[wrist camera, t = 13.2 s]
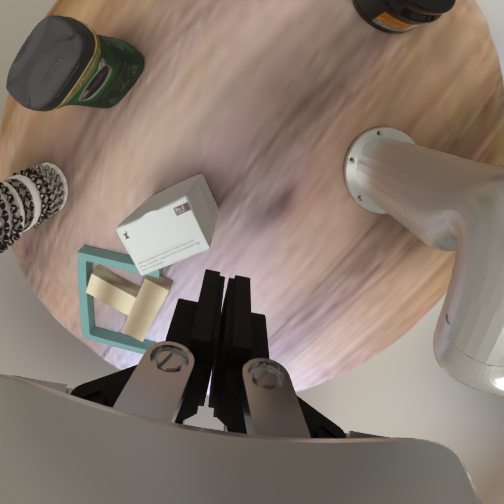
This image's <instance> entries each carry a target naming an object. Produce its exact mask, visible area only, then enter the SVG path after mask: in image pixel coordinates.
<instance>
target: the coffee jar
mask: <svg viewBox="0 0 504 504" xmlns="http://www.w3.org/2000/svg"><path fill="white" fill-rule="evenodd" d="M142 68H143V58H142V56H141V54H140V53H139V52H138V51H137V50H136V49H135V48H134V47H133V46H131V45H130V44H128V43H126V42H124V41H122V40H119V39H116V38H111V37H106V36H101V35H97V34H96V33H95V32H94V31H93V30H92V29H91V28H90V27H89V26H88V25H86V24H85V23H83V22H81V21H79V20H77V19H75V18H71V17H63V16H48V17H46V18H45V19H43V20H42V21H41V22H39V23H38V25H37V26H36V27H35V28H34V29H33V31H32V32H31V34H30V35H29V36H28V38H27V39H26V41H25V42H24V44H23V46H22V47H21V49H20V51H19V52H18V54H17V56H16V58H15V60H14V62H13V63H12V66H11V68H10V70H9V74H8V78H7V85H6V88H7V90H8V92H9V93H10V94H11V95H12V97H13V98H14V99H15V100H16V101H17V102H19V103H20V104H21V105H23V106H24V107H26V108H28V109H32V110H35V111H44V112H50V111H54V110H57V109H59V108H61V107H63V106H66V105H82V106H88V107H94V108H110V107H112V106H114V105H115V104H116V103H117V102H118V101H119V100H120V99H121V98H122V97H123V96H124V95H125V94H126V93H127V91H128V90H129V89H130V88H131V86H132V85H133V84H134V82H135V81H136V79H137V78H138V76H139V74H140V73H141V71H142Z"/></svg>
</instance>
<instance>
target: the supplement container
mask: <svg viewBox="0 0 504 504" xmlns="http://www.w3.org/2000/svg"><path fill="white" fill-rule="evenodd" d="M455 1H456V0H354V3H355V6H356V8H357V9H358V11H359V13H360V14H361V15H362V16H363V17H364V18H365V19H366V20H367V21H368V22H369V23H370V24H372V25H373V26H375V27H377V28H379V29H381V30H383V31H386V32H391V33H403V32H406V31H409V30H411V29H412V28H415V27H417V26H420V25H422V24H425V23H430V22H433V21H435V20H437V19H438V18H439V17H440V16H441V15H442V14H443V13H445V12H448V11H449V10H450V9H452V7H453V6H454V4H455Z"/></svg>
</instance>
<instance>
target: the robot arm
mask: <svg viewBox="0 0 504 504" xmlns="http://www.w3.org/2000/svg"><path fill="white" fill-rule="evenodd" d="M377 132H379V134H378V135H377ZM351 157H352V160H351V161H350V158H351ZM344 179H345V184H346V187H347V189H348V191H349V193H350V195H351V196H352V198H353V199H354V200H355V201H356V202H357V203H358V204H359V205H360V206H362V207H363V208H364V209H366V210H368V211H370V212H373V213H377V214H390V215H391V216H392V217H393V218H395V219H396V220H397V221H398V222H400V223H401V224H402V225H403V226H405V227H406V228H407V229H408V230H409V231H411V232H412V233H413V234H414V235H416V236H417V237H418V238H419V239H420V240H422V241H423V242H424V243H425V244H427V245H428V246H430V247H432V248H434V249H437V250H442V251H457V252H456V257H455V261H454V265H453V269H452V276H451V280H450V283H449V287H448V290H447V294H446V297H445V300H444V304H443V307H442V310H441V313H440V316H439V319H438V322H437V326H436V329H435V333H434V340H433V349H434V354H435V357H436V360H437V362H438V363H439V365H440V366H441V368H442V369H443V370H444V371H445V372H446V373H447V374H448V375H449V376H450V377H452V378H453V379H455V380H456V381H458V382H460V383H462V384H464V385H466V386H468V387H471V388H473V389H476V390H479V391H483V392H487V393H490V394H494V395H498V396H503V397H504V166H499V165H492V164H487V163H481V162H477V161H473V160H469V159H466V158H462V157H459V156H456V155H452V154H448V153H445V152H441V151H438V150H434V149H431V148H427V147H423V146H419V145H416V143H415V142H414V141H413V140H412V138H410V137H409V136H408V135H407V134H406V133H404V132H402V131H400V130H398V129H395V128H390V127H377V128H373V129H370V130H368V131H366V132H364V133H362V134H361V135H360V136H359V137H357V138H356V140H355V141H354V142H353V143H352V144H351V146H350V148H349V150H348V152H347V155H346V158H345V162H344ZM359 195H360V197H359V198H358V196H359ZM224 281H225V277H223V276H220V272H217V271H212V270H207V269H206V271H205V275H204V279H203V284H202V288H201V292H200V297H199V301H198V302H194V301H189V300H184V299H180V298H179V299H178V302H177V305H176V308H175V311H174V315H173V318H172V321H171V324H170V327H169V331H168V334H167V337H166V340H165V341H162V342H158V343H155V344H153V345H151V346H150V347H149V348H148V349H147V350H146V352H145V354H144V355H143V357H142V359H141V360H140V362H139V364H138V365H135V366H133V367H130V368H127V369H124V370H122V371H119V372H116V373H113V374H111V375H107V376H105V377H102V378H99V379H96V380H93V381H90V382H87V383H84V384H82V385H80V386H78V387H76V388H75V389H71V388H68V386H67V385H66V384H60V383H53V382H47V381H41V380H36V379H30V378H25V377H20V376H9V375H4V374H0V504H482V503H481V500H480V498H479V495H478V493H477V490H476V488H475V485H474V483H473V481H472V479H471V477H470V475H469V473H468V471H467V469H466V467H465V465H464V464H463V462H462V461H461V459H460V458H459V456H458V455H457V454H456V453H455V452H454V451H453V450H452V449H450V448H449V447H447V446H445V445H442V444H440V443H436V442H432V441H429V440H423V439H415V438H390V437H384V436H376V435H371V434H365V433H359V432H354V431H349V432H348V434H347V433H344V432H343V430H342V429H341V428H340V427H338V426H337V425H336V424H335V423H333V422H332V421H330V420H329V419H328V418H326V417H325V416H323V415H322V414H321V413H319V412H318V411H317V410H315V409H314V408H313V407H311V406H310V405H309V404H307V403H306V402H305V401H303V400H302V399H301V398H299V397H298V396H297V395H296V393H295V390H294V387H293V385H292V382H291V379H290V376H289V374H288V372H287V370H286V369H285V368H284V367H283V366H282V365H281V364H279V363H277V362H276V361H273V360H270V359H269V350H268V339H267V328H266V318H265V315H263V314H257V313H251V293H250V278H247V277H242V276H237V275H235V278H234V279H233V278H229V281H228V285H227V289H226V294H225V298H224V302H223V307H222V299H223V290H224ZM221 308H222V311H221ZM211 371H212V376H211ZM210 376H211V385H210V395H209V405H208V407H211V408H214V417H217V418H218V419H219V420H220V421H221V422H222V423H223V424H224V431H220V430H213V429H206V428H201V427H195V426H189V425H184V422H185V419H187V418H189V417H191V416H193V415H195V414H196V413H197V410H198V405H199V406H204V402H205V398H206V393H207V389H208V384H209V380H210Z"/></svg>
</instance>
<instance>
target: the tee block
mask: <svg viewBox="0 0 504 504" xmlns="http://www.w3.org/2000/svg"><path fill="white" fill-rule="evenodd" d="M172 282H173V281H172V280H170V279H168V278H167V277H165V276H163V275H161V274H160V276H159V278H157V277H153V276H148V275H147V276H146V278H145V280H144V282H143V284H142V286H141V288H140V287H139V286H137V285H135V284H133V283H131V282H129V281H127V280H125V279H124V278H122V277H120V276H118V275H116V274H114V273H113V272H111V271H109V270H107V269H105V268H104V267H102V266H100V265H98V267H97V268H96V269H95V270H94V271H93V273H92V274H91V277H90V280H89V283H88V286H87V290H86V293H88V294H90V295H91V296H93V297H95V298H97V299H98V300H100V301H102V302H104V303H106V304H108V305H109V306H111V307H113V308H115V309H117V310H119V311H121V312H122V313H124V314H126V315H128V318H127V320H126V322H125V325H124V327H123V329H122V332H123V333H125V334H127V335H129V336H131V337H133V338H135V339H137V340H139V341H141V342H143V341H144V339H145V337H146V335H147V333H148V331H149V329H150V327H151V325H152V323H153V321H154V319H155V317H156V315H157V313H158V311H159V309H160V307H161V305H162V304H163V302H164V300H165V298H166V296H167V294H168V292H169V290H170V287H171V285H172Z"/></svg>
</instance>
